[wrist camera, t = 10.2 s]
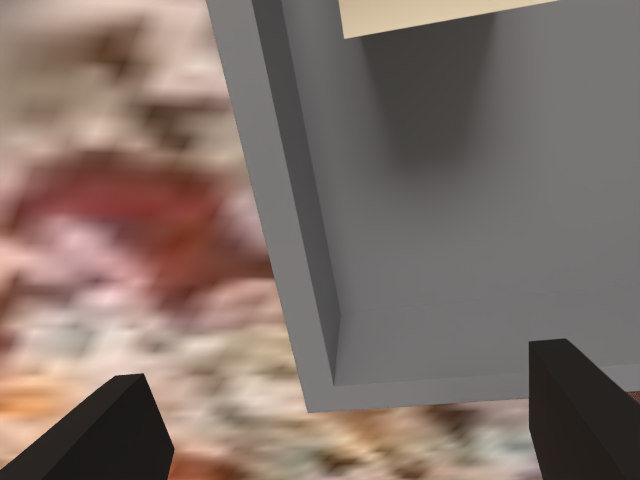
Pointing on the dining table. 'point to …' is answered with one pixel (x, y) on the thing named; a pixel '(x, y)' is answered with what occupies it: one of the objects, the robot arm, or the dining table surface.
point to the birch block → (414, 12)
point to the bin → (443, 192)
